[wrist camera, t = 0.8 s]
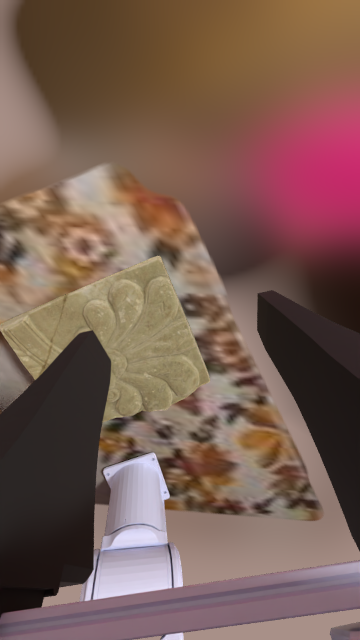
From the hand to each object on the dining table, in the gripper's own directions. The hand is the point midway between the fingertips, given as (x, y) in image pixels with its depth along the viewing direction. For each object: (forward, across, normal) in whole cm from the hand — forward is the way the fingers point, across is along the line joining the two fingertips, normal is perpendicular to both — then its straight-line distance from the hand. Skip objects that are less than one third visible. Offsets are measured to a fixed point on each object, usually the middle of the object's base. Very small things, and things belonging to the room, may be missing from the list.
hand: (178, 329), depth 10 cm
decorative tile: (+15, +10, +14) cm, 22 cm away
